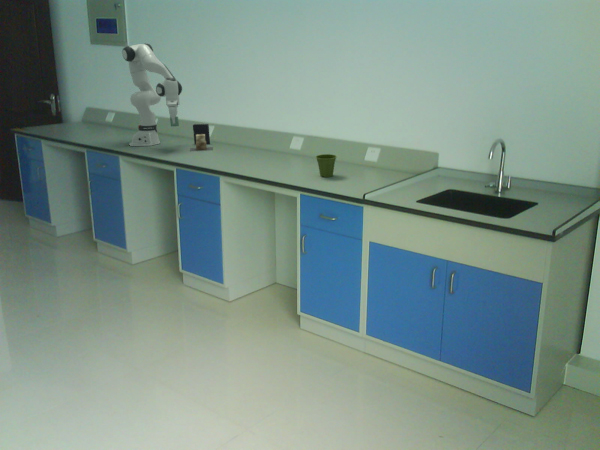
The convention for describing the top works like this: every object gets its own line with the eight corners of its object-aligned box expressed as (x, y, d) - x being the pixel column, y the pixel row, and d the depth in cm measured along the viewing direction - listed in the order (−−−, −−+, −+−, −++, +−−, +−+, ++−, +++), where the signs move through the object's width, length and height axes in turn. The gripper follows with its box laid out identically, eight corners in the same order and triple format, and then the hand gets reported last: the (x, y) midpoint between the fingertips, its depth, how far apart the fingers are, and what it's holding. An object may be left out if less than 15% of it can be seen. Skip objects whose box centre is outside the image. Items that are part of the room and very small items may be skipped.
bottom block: (196, 150, 420) (195, 143, 418) (196, 148, 427) (196, 141, 425) (206, 149, 421) (205, 142, 419) (206, 147, 427) (206, 141, 426)
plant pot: (312, 175, 344) (311, 155, 340) (329, 172, 349) (329, 153, 346) (323, 179, 334) (323, 159, 330) (341, 176, 339) (340, 156, 336)
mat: (189, 152, 417) (189, 151, 417) (190, 148, 429) (190, 148, 428) (212, 150, 419) (212, 150, 419) (213, 147, 430) (213, 147, 430)
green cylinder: (170, 126, 414) (169, 117, 412) (171, 125, 419) (170, 116, 417) (178, 126, 414) (177, 117, 412) (179, 124, 419) (178, 116, 417)
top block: (196, 143, 419) (195, 135, 417) (196, 141, 425) (196, 134, 423) (205, 142, 420) (204, 135, 418) (205, 141, 425) (204, 134, 424)
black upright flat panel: (210, 144, 444) (208, 123, 439) (209, 145, 440) (207, 124, 435) (195, 144, 445) (194, 123, 441) (194, 145, 441) (192, 124, 437)
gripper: (169, 100, 421) (170, 120, 425) (166, 104, 402) (168, 125, 406) (178, 100, 422) (180, 120, 426) (176, 104, 402) (178, 124, 407)
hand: (174, 122), depth 416 cm, fingers closed on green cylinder, 5 cm apart
